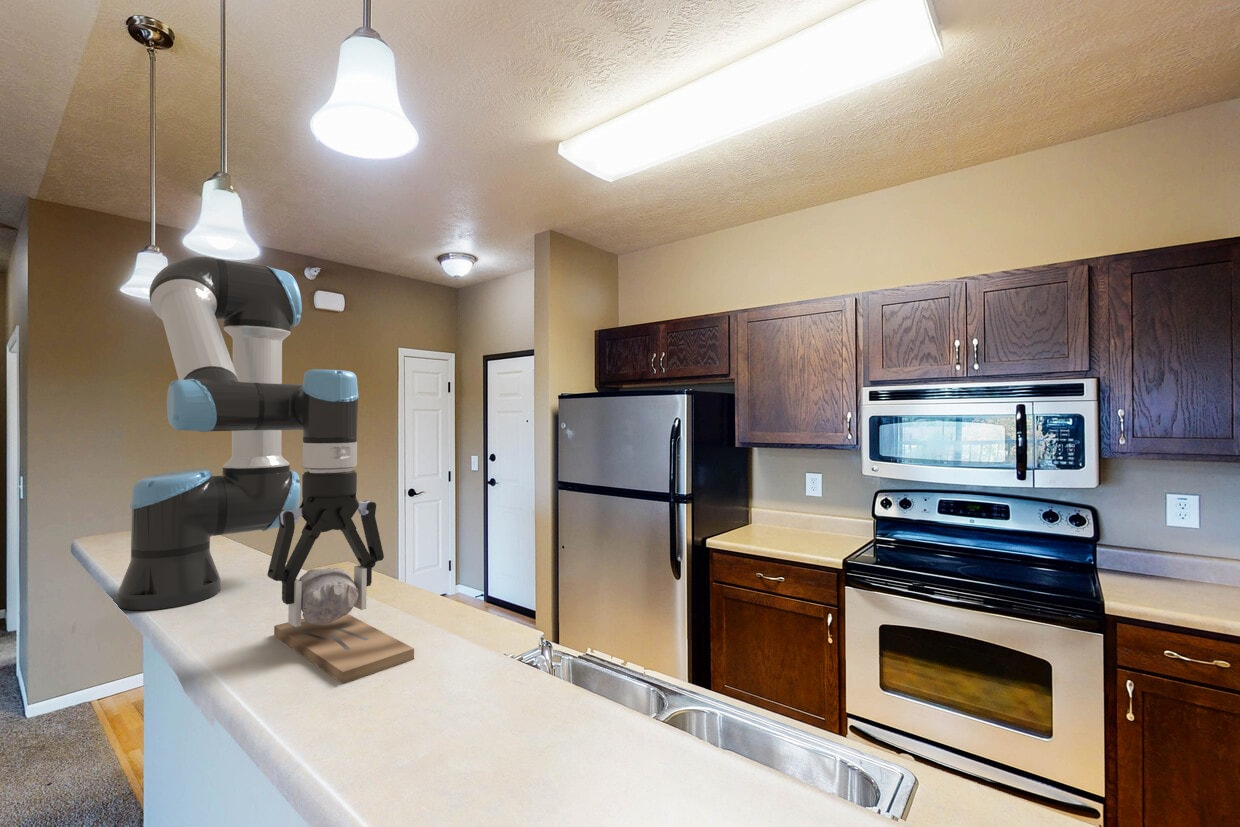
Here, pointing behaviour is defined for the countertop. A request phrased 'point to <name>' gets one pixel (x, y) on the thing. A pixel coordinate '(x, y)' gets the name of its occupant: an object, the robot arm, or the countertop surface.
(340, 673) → the board
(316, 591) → the stone
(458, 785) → the countertop surface
